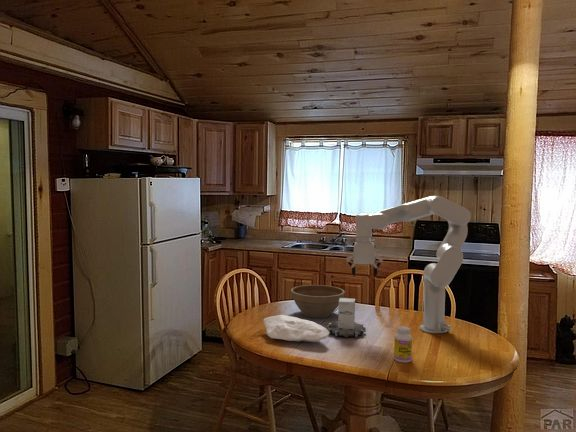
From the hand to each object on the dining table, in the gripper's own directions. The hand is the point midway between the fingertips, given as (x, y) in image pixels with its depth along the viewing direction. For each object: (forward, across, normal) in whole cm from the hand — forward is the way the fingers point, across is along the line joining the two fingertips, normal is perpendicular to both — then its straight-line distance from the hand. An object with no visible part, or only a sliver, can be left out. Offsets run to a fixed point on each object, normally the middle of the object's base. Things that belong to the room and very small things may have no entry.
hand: (364, 275), depth 223 cm
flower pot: (+25, +27, -18) cm, 41 cm away
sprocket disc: (+25, +8, +9) cm, 28 cm away
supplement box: (+22, +8, +9) cm, 25 cm away
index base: (+25, +12, +6) cm, 29 cm away
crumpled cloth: (+25, +28, +22) cm, 43 cm away
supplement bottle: (+26, -18, +36) cm, 48 cm away
